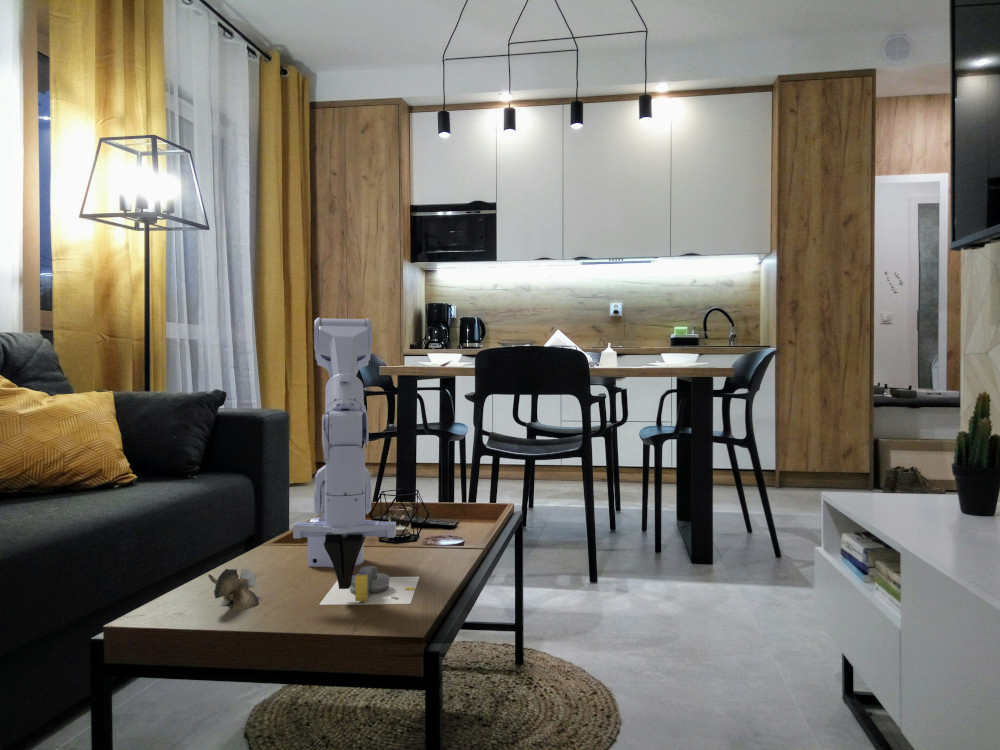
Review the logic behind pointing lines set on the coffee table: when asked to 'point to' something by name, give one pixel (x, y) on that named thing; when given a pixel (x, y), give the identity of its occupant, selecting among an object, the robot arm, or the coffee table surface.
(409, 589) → the dial plate
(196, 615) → the coffee table surface
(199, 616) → the coffee table surface
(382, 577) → the dial
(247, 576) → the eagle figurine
